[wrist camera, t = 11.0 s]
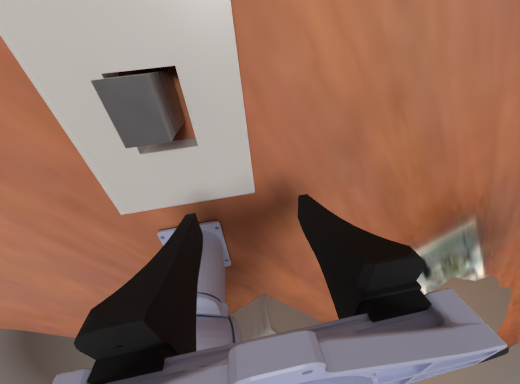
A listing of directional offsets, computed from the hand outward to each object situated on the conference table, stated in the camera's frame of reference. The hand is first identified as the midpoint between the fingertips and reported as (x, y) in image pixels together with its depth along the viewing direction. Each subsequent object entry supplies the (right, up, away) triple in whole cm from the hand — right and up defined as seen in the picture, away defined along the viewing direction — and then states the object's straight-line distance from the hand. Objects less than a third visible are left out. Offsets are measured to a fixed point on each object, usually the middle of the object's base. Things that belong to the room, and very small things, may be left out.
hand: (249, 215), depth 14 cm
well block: (-8, +9, +4) cm, 13 cm away
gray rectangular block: (-8, +10, +3) cm, 13 cm away
